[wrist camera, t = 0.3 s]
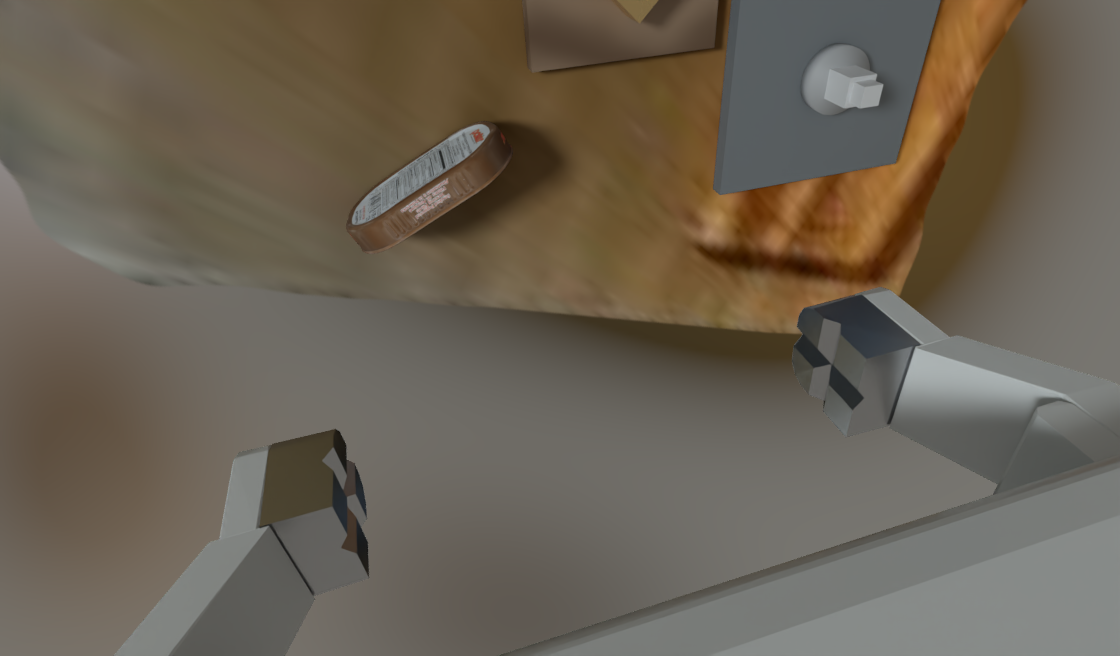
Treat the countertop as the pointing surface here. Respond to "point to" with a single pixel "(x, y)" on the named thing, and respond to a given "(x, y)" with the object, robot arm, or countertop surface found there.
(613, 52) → the stand
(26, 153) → the countertop surface
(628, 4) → the tan square frame
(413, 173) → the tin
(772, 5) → the plate
